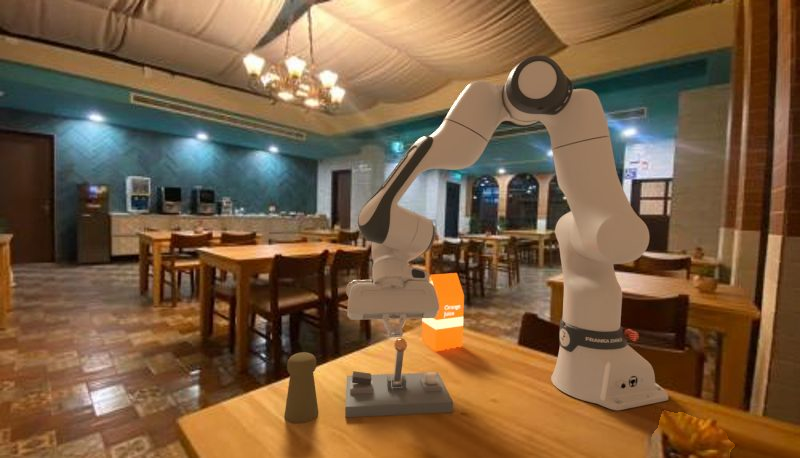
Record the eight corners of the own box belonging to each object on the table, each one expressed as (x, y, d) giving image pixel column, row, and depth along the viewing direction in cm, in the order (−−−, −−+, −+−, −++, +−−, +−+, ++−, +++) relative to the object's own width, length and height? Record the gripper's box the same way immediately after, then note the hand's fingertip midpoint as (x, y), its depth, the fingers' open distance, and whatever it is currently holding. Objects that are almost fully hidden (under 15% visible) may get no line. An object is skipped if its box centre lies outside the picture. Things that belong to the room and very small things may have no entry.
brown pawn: (309, 425, 63) (309, 364, 62) (277, 420, 64) (277, 360, 63) (323, 406, 69) (324, 350, 68) (294, 402, 70) (294, 347, 69)
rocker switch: (369, 379, 73) (370, 373, 73) (370, 385, 71) (371, 379, 71) (352, 376, 72) (353, 371, 72) (352, 382, 70) (353, 376, 70)
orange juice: (421, 341, 103) (423, 272, 102) (447, 337, 107) (449, 270, 106) (435, 351, 96) (437, 277, 95) (462, 347, 100) (465, 275, 98)
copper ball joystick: (401, 379, 74) (406, 335, 68) (402, 389, 72) (408, 345, 66) (389, 379, 74) (394, 335, 67) (390, 390, 72) (395, 345, 65)
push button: (435, 378, 75) (435, 371, 75) (438, 384, 72) (438, 377, 72) (423, 378, 74) (423, 371, 74) (425, 384, 72) (425, 377, 72)
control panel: (438, 381, 80) (438, 363, 80) (452, 412, 68) (453, 391, 68) (346, 384, 77) (346, 366, 77) (345, 417, 65) (345, 396, 65)
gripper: (346, 272, 81) (345, 330, 72) (435, 272, 83) (445, 328, 74) (346, 287, 85) (345, 343, 76) (431, 287, 88) (439, 341, 79)
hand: (395, 336), depth 75 cm, fingers closed
